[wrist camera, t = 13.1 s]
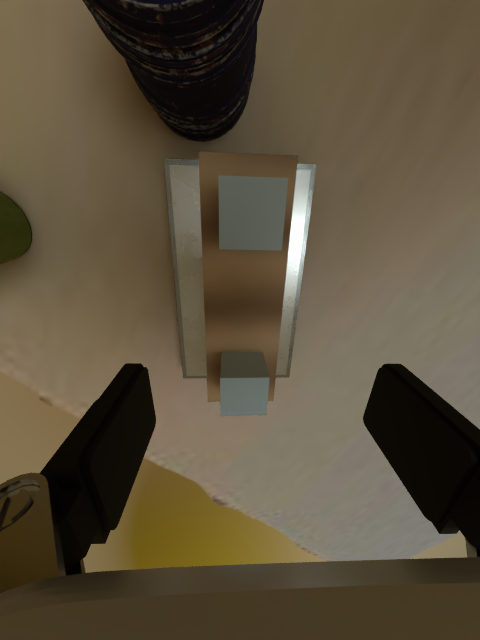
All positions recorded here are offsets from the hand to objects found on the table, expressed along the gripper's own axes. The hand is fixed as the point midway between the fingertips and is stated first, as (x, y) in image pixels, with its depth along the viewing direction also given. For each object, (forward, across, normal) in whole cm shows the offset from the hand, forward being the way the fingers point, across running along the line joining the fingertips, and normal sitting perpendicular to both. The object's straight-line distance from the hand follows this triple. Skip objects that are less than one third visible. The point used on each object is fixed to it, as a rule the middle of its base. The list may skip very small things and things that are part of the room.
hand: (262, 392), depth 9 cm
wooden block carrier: (+17, 0, 0) cm, 17 cm away
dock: (+20, +1, 0) cm, 20 cm away
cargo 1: (+12, 0, -7) cm, 13 cm away
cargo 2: (+12, 0, +7) cm, 14 cm away
